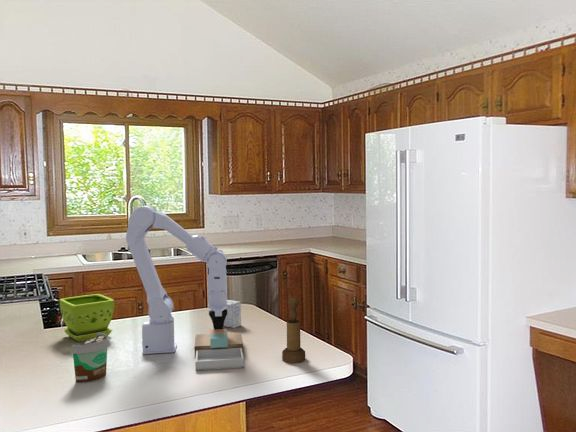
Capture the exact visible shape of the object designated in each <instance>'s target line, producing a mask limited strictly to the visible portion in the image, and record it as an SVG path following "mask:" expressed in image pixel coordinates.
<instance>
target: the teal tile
mask: <svg viewBox="0 0 576 432" xmlns="http://www.w3.org/2000/svg"><path fill="white" fill-rule="evenodd" d="M227 333H228V332H227ZM227 333H226V334H210V333H209V334H210V348H217V347H228V335H227Z"/></svg>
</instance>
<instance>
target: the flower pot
mask: <svg viewBox="0 0 576 432" xmlns="http://www.w3.org/2000/svg"><path fill="white" fill-rule="evenodd" d="M59 308H60V313H61V316H62V319H63V323H65V324H64V325H65V326H66V328H64V329H63V332H65V334H66V335H68V337H70V338H72V339H73V340H74V341H76V342H78V343H82V342H84V341H86V340H89V339H92V338H95V337H96V336H97V333H104V334H106V335H107V336H108V337H109V335H111V333H112V331H113V329H111V328H109V326H110V323H111V321H112V318H113V315H114V310H115V300H114V299H113V298H111V297H108V296H105V295H103V294H100V293H95V294H94V293H93V294H86V295H79V296H77V295H76V296H72V297H71V296H70V297H65V298H60V299H59Z"/></svg>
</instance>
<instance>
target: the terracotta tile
mask: <svg viewBox="0 0 576 432" xmlns="http://www.w3.org/2000/svg"><path fill="white" fill-rule="evenodd" d="M209 332H210V333H209V334H226V333H228V328H223V329H214V328H213V329H210V330H209Z"/></svg>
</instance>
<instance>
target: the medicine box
mask: <svg viewBox="0 0 576 432" xmlns="http://www.w3.org/2000/svg"><path fill="white" fill-rule="evenodd" d="M227 303H231V307H227V308H226V309H227V316H226V318H225V321H224V326H223V327H227V328H233V329H235V328H238V327H240V326H242V303H241V301H237V300H232V299H231V300H230V299H227Z"/></svg>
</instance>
